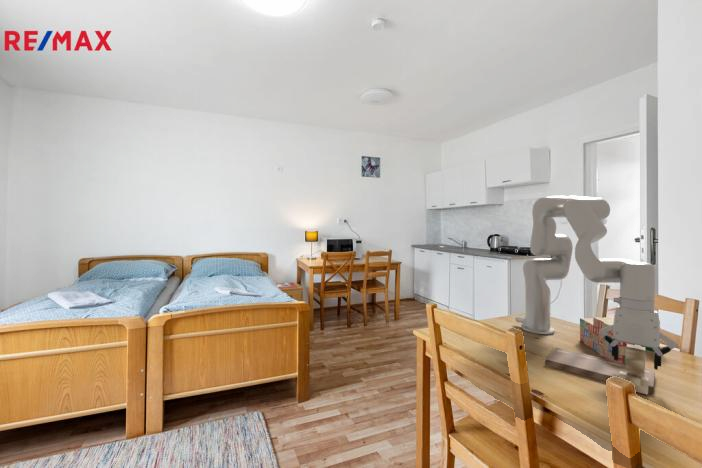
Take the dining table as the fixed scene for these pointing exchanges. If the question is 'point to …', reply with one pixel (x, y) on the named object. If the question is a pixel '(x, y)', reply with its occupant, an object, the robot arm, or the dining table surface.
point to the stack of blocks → (600, 337)
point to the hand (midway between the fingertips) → (635, 363)
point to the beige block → (635, 368)
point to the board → (592, 366)
